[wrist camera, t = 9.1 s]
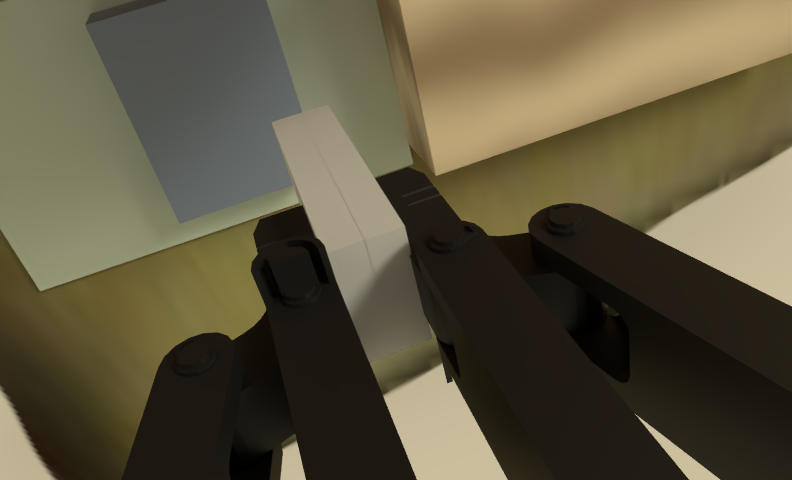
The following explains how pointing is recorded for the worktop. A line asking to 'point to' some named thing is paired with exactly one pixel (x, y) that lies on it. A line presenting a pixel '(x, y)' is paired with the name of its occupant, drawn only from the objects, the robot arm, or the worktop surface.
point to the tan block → (558, 63)
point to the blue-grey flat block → (201, 95)
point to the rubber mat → (121, 148)
